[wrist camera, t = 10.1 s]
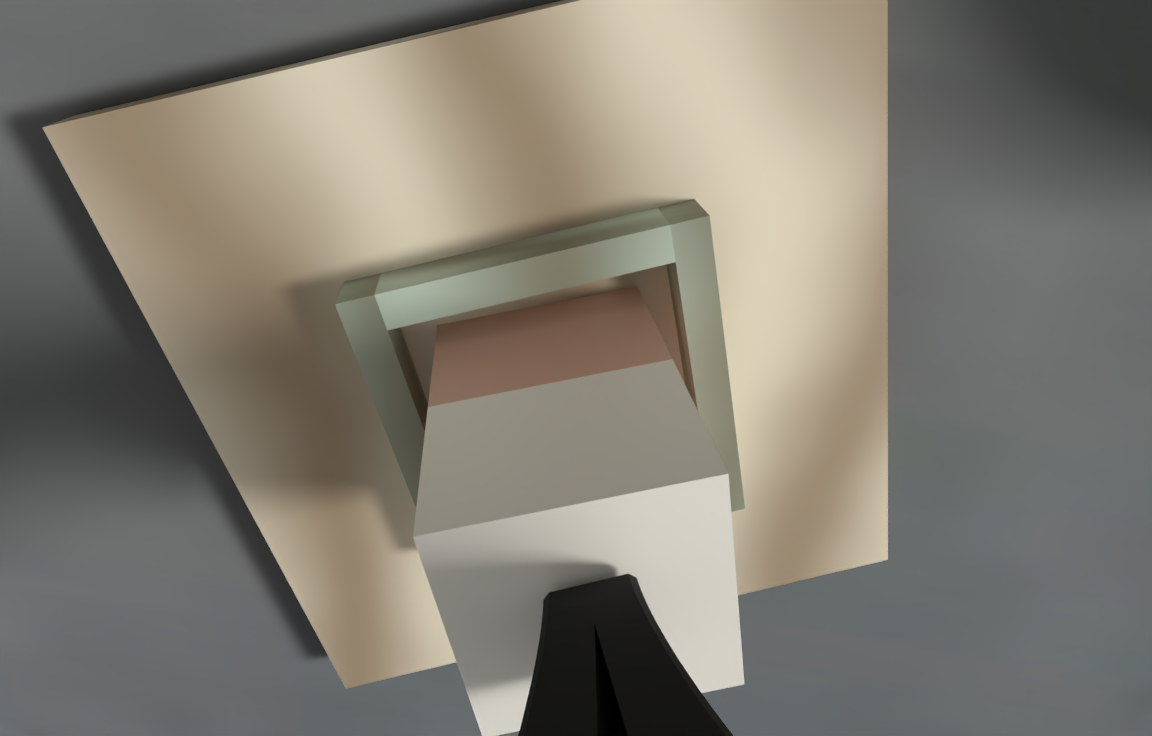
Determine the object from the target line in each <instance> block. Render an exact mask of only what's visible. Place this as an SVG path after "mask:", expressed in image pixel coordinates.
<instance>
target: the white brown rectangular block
mask: <svg viewBox="0 0 1152 736" xmlns="http://www.w3.org/2000/svg"><path fill="white" fill-rule="evenodd" d="M413 539H414V542H415V544H416V547H417V550H418V553H419V556H420V559H421V562H422V565H423V567H424V570H425V573H426V576H427V579H428V582H429V585H430V587H431V590H432V593H433V596H434V599H435V602H436V605H437V608H438V610H439V613H440V616H441V619H442V622H443V625H444V628H445V630H446V633H447V636H448V639H449V642H450V645H451V648H452V651H453V653H454V656H455V659H456V662H457V665H458V668H459V671H460V674H461V676H462V679H463V682H464V685H465V688H466V691H467V694H468V696H469V699H470V702H471V705H472V708H473V711H474V714H475V717H476V719H477V722H478V725H479V728H480V731H481V734H482V736H497V735H501V734H506V733H511V732H516V731H520V727H521V723H522V719H523V715H524V711H525V706H526V702H527V698H528V694H529V690H530V685H531V681H532V677H533V672H534V667H535V661H536V656H537V651H538V645H539V639H540V632H541V623H542V614H543V599H544V598H545V597H546V596H547V594H548V593H549V592H553V591H557V590H561V589H565V588H570V587H574V586H578V585H582V584H586V583H591V582H595V581H599V580H603V579H607V578H612V577H616V576H620V575H624V574H630V575H632V576H634V577H636V578H637V580H638V583H639V586H640V589H641V591H642V593H643V596H644V598H645V600H646V603H647V605H648V607H649V609H650V611H651V613H652V615H653V617H654V618H655V620H656V622H657V624H658V626H659V628H660V629H661V631H662V633H663V634H664V636H665V638H666V640H667V641H668V643H669V645H670V646H671V648H672V650H673V651H674V653H675V654H676V656H677V658H678V659H679V661H680V662H681V664H682V665H683V667H684V668H685V670H686V671H687V673H688V674H689V676H690V677H691V678H692V680H693V681H694V683H695V684H696V686H697V687H698V689H699V690H700V692H701V693H704V692H709V691H714V690H719V689H723V688H728V687H733V686H738V685H743V684H744V674H743V660H742V647H741V634H740V620H739V607H738V593H737V580H736V567H735V553H734V540H733V527H732V513H731V500H730V487H729V474H728V472H727V469H726V467H725V465H724V463H723V461H722V459H721V457H720V455H719V453H718V451H717V449H716V447H715V445H714V443H713V441H712V439H711V437H710V435H709V433H708V431H707V429H706V427H705V425H704V422H703V420H702V418H701V416H700V414H699V412H698V410H697V408H696V406H695V404H694V402H693V400H692V398H691V396H690V394H689V392H688V390H687V388H686V386H685V384H684V382H683V380H682V378H681V375H680V373H679V371H678V369H677V367H676V365H675V363H674V361H673V359H672V357H671V355H670V353H669V351H668V349H667V347H666V345H665V343H664V341H663V339H662V337H661V335H660V333H659V331H658V328H657V326H656V324H655V322H654V320H653V318H652V316H651V314H650V312H649V310H648V308H647V306H646V304H645V302H644V300H643V298H642V296H641V294H640V292H639V290H638V288H637V287H631V288H626V289H621V290H616V291H611V292H606V293H601V294H595V295H590V296H585V297H580V298H575V299H570V300H564V301H559V302H554V303H549V304H544V305H539V306H534V307H528V308H523V309H518V310H513V311H508V312H503V313H497V314H492V315H487V316H482V317H477V318H472V319H467V320H461V321H456V322H451V323H446V324H441V325H437V331H436V340H435V349H434V357H433V366H432V375H431V383H430V392H429V401H428V410H427V418H426V427H425V436H424V444H423V453H422V462H421V471H420V479H419V488H418V497H417V505H416V514H415V523H414V532H413Z"/></svg>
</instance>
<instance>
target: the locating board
mask: <svg viewBox="0 0 1152 736" xmlns="http://www.w3.org/2000/svg"><path fill="white" fill-rule="evenodd" d="M42 128H43V130H44V132H45V133H46V135H47V137H48V139H49V141H50V143H51V145H52V146H53V148H54V150H55V152H56V154H57V156H58V158H59V159H60V161H61V163H62V165H63V167H64V169H65V170H66V172H67V174H68V176H69V178H70V180H71V182H72V183H73V185H74V187H75V189H76V191H77V193H78V194H79V196H80V198H81V200H82V202H83V204H84V206H85V207H86V209H87V211H88V213H89V215H90V217H91V218H92V220H93V222H94V224H95V226H96V228H97V230H98V231H99V233H100V235H101V237H102V239H103V241H104V243H105V244H106V246H107V248H108V250H109V252H110V254H111V255H112V257H113V259H114V261H115V263H116V265H117V267H118V268H119V270H120V272H121V274H122V276H123V278H124V279H125V281H126V283H127V285H128V287H129V289H130V291H131V292H132V294H133V296H134V298H135V300H136V302H137V303H138V305H139V307H140V309H141V311H142V313H143V315H144V316H145V318H146V320H147V322H148V324H149V326H150V328H151V329H152V331H153V333H154V335H155V337H156V339H157V340H158V342H159V344H160V346H161V348H162V350H163V352H164V353H165V355H166V357H167V359H168V361H169V363H170V364H171V366H172V368H173V370H174V372H175V374H176V376H177V377H178V379H179V381H180V383H181V385H182V387H183V388H184V390H185V392H186V394H187V396H188V398H189V400H190V401H191V403H192V405H193V407H194V409H195V411H196V413H197V414H198V416H199V418H200V420H201V422H202V424H203V425H204V427H205V429H206V431H207V433H208V435H209V437H210V438H211V440H212V442H213V444H214V446H215V448H216V449H217V451H218V453H219V455H220V457H221V459H222V461H223V462H224V464H225V466H226V468H227V470H228V472H229V473H230V475H231V477H232V479H233V481H234V483H235V485H236V486H237V488H238V490H239V492H240V494H241V496H242V497H243V499H244V501H245V503H246V505H247V507H248V509H249V510H250V512H251V514H252V516H253V518H254V520H255V522H256V523H257V525H258V527H259V529H260V531H261V533H262V534H263V536H264V538H265V540H266V542H267V544H268V546H269V547H270V549H271V551H272V553H273V555H274V557H275V558H276V560H277V562H278V564H279V566H280V568H281V570H282V571H283V573H284V575H285V577H286V579H287V581H288V582H289V584H290V586H291V588H292V590H293V592H294V594H295V595H296V597H297V599H298V601H299V603H300V605H301V607H302V608H303V610H304V612H305V614H306V616H307V618H308V619H309V621H310V623H311V625H312V627H313V629H314V631H315V632H316V634H317V636H318V638H319V640H320V642H321V643H322V645H323V647H324V649H325V651H326V653H327V655H328V656H329V658H330V660H331V662H332V664H333V666H334V667H335V669H336V671H337V673H338V675H339V677H340V679H341V680H342V682H343V684H344V686H345V688H350V687H354V686H358V685H362V684H367V683H371V682H375V681H379V680H383V679H388V678H392V677H396V676H400V675H404V674H409V673H413V672H417V671H421V670H425V669H430V668H434V667H438V666H442V665H446V664H451V663H455V662H456V659H455V656H454V653H453V651H452V648H451V645H450V642H449V639H448V636H447V633H446V630H445V628H444V625H443V622H442V619H441V616H440V613H439V610H438V608H437V605H436V602H435V599H434V596H433V593H432V590H431V587H430V585H429V582H428V579H427V576H426V573H425V570H424V567H423V565H422V562H421V559H420V556H419V553H418V550H417V547H416V544H415V542H414V539H413V532H414V523H415V514H416V505H417V497H418V488H419V479H420V471H421V462H422V453H423V444H424V436H425V427H426V418H427V410H428V401H429V392H430V383H431V375H432V366H433V357H434V349H435V340H436V331H437V325H441V324H446V323H451V322H456V321H461V320H467V319H472V318H477V317H482V316H487V315H492V314H497V313H503V312H508V311H513V310H518V309H523V308H528V307H534V306H539V305H544V304H549V303H554V302H559V301H564V300H570V299H575V298H580V297H585V296H590V295H595V294H601V293H606V292H611V291H616V290H621V289H626V288H631V287H637V288H638V290H639V292H640V294H641V296H642V298H643V300H644V302H645V304H646V306H647V308H648V310H649V312H650V314H651V316H652V318H653V320H654V322H655V324H656V326H657V328H658V331H659V333H660V335H661V337H662V339H663V341H664V343H665V345H666V347H667V349H668V351H669V353H670V355H671V357H672V359H673V361H674V363H675V365H676V367H677V369H678V371H679V373H680V375H681V378H682V380H683V382H684V384H685V386H686V388H687V390H688V392H689V394H690V396H691V398H692V400H693V402H694V404H695V406H696V408H697V410H698V412H699V414H700V416H701V418H702V420H703V422H704V425H705V427H706V429H707V431H708V433H709V435H710V437H711V439H712V441H713V443H714V445H715V447H716V449H717V451H718V453H719V455H720V457H721V459H722V461H723V463H724V465H725V467H726V469H727V472H728V474H729V487H730V500H731V513H732V527H733V540H734V553H735V567H736V580H737V593H738V595H741V594H745V593H749V592H754V591H758V590H762V589H766V588H770V587H775V586H779V585H783V584H787V583H791V582H796V581H800V580H804V579H808V578H812V577H817V576H821V575H825V574H829V573H833V572H838V571H842V570H846V569H850V568H854V567H859V566H863V565H867V564H871V563H876V562H880V561H884V560H888V0H561V1H557V2H553V3H548V4H544V5H540V6H536V7H532V8H527V9H523V10H519V11H515V12H510V13H506V14H502V15H498V16H493V17H489V18H485V19H481V20H477V21H472V22H468V23H464V24H460V25H455V26H451V27H447V28H443V29H438V30H434V31H430V32H426V33H422V34H417V35H413V36H409V37H405V38H400V39H396V40H392V41H388V42H383V43H379V44H375V45H371V46H366V47H362V48H358V49H354V50H350V51H345V52H341V53H337V54H333V55H328V56H324V57H320V58H316V59H311V60H307V61H303V62H299V63H295V64H290V65H286V66H282V67H278V68H273V69H269V70H265V71H261V72H256V73H252V74H248V75H244V76H240V77H235V78H231V79H227V80H223V81H218V82H214V83H210V84H206V85H201V86H197V87H193V88H189V89H185V90H180V91H176V92H172V93H168V94H163V95H159V96H155V97H151V98H146V99H142V100H138V101H134V102H130V103H125V104H121V105H117V106H113V107H108V108H104V109H100V110H96V111H91V112H87V113H83V114H79V115H75V116H71V117H69V118H66V119H63V120H61V121H58V122H55V123H53V124H50V125H47V126H45V127H42Z"/></svg>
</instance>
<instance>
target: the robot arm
mask: <svg viewBox="0 0 1152 736" xmlns="http://www.w3.org/2000/svg"><path fill="white" fill-rule="evenodd" d="M518 736H733V735H732V733H731V732H730V731H729V730H728V728H727V727H726V726H725V724H724V723H723V722H722V720H721V719H720V718H719V717H718V715H717V714H716V713H715V711H714V710H713V708H712V707H711V706H710V704H709V703H708V702H707V700H706V699H705V697H704V696H703V695H702V693H701V692H700V690H699V689H698V687H697V686H696V684H695V683H694V681H693V680H692V678H691V677H690V676H689V674H688V673H687V671H686V670H685V668H684V667H683V665H682V664H681V662H680V661H679V659H678V658H677V656H676V654H675V653H674V651H673V650H672V648H671V646H670V645H669V643H668V641H667V640H666V638H665V636H664V634H663V633H662V631H661V629H660V628H659V626H658V624H657V622H656V620H655V618H654V617H653V615H652V613H651V611H650V609H649V607H648V605H647V603H646V600H645V598H644V596H643V593H642V591H641V589H640V586H639V583H638V580H637V578H636V577H634V576H632V575H630V574H624V575H620V576H616V577H612V578H607V579H603V580H599V581H595V582H591V583H586V584H582V585H578V586H574V587H570V588H565V589H561V590H557V591H553V592H549V593H548V594H547V596H546V597H545V598H544V599H543V614H542V623H541V632H540V639H539V645H538V651H537V656H536V661H535V667H534V672H533V677H532V681H531V685H530V690H529V694H528V698H527V702H526V706H525V711H524V715H523V719H522V723H521V727H520V731H519V735H518Z"/></svg>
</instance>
